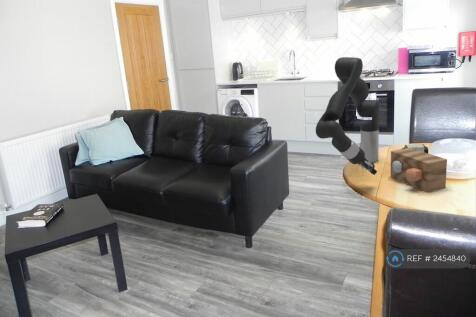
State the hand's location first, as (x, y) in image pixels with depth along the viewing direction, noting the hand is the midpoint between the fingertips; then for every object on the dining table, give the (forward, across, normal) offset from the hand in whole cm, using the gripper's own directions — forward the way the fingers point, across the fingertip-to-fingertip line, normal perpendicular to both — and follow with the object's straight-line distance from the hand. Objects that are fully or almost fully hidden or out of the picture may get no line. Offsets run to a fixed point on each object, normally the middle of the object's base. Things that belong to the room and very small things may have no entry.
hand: (374, 172), depth 182 cm
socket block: (+18, -6, -8) cm, 20 cm away
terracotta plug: (+12, -12, -9) cm, 19 cm away
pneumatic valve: (+28, +12, -19) cm, 36 cm away
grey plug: (+14, 0, -11) cm, 18 cm away
